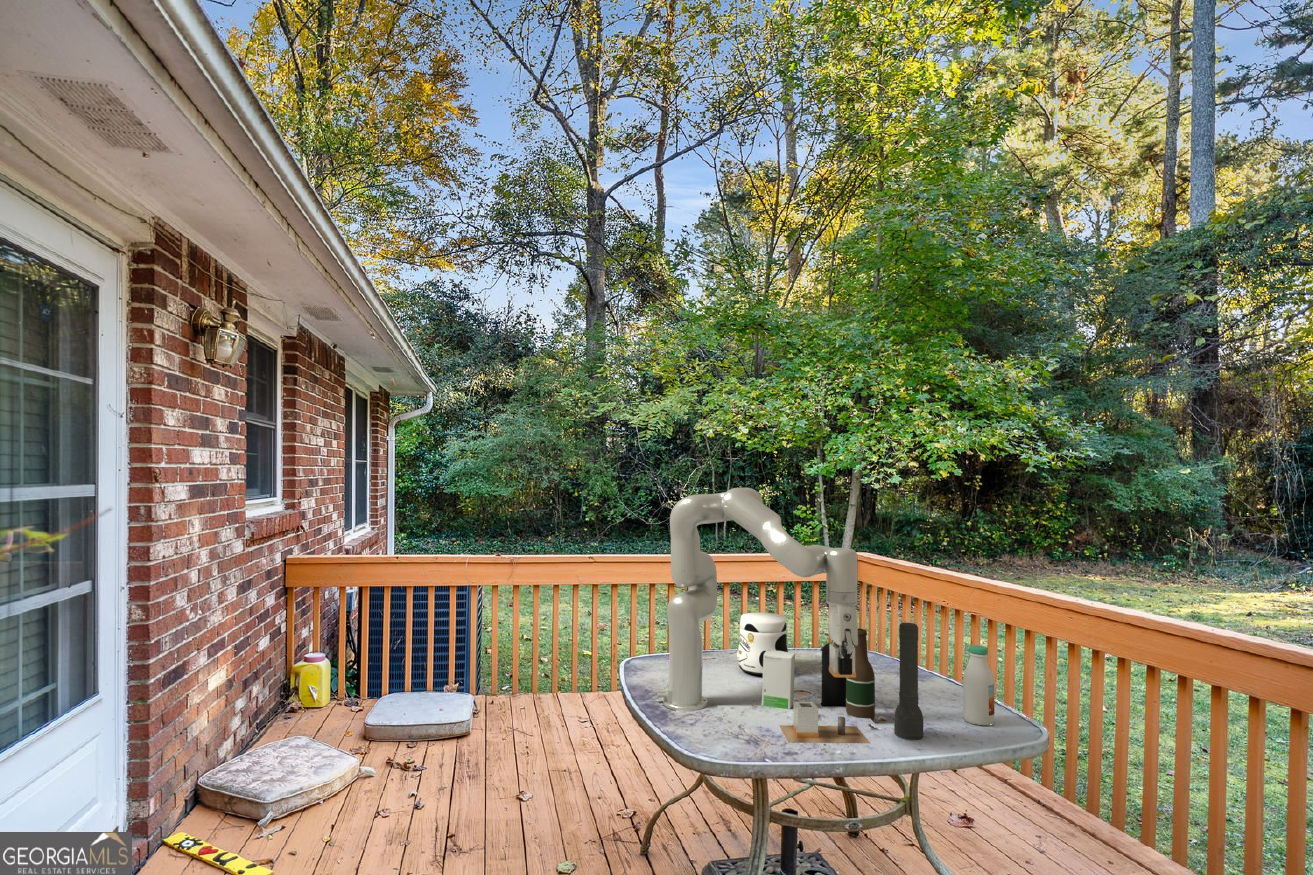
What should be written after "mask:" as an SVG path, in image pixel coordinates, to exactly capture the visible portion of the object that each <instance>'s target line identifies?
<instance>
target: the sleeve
mask: <svg viewBox="0 0 1313 875" xmlns="http://www.w3.org/2000/svg"><path fill="white" fill-rule="evenodd" d="M829 643H830V666H829V672H830V673H831V674H832V675H833V676H834V677H856V672H855V648H854V646H853V653H852V675H840V674H839V658H840V649H839V645H838V644H836V643H831V642H829ZM842 644H843V645H846V643H842ZM844 649H846V648H843V651H844Z"/></svg>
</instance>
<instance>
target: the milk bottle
mask: <svg viewBox="0 0 1313 875" xmlns="http://www.w3.org/2000/svg"><path fill="white" fill-rule="evenodd" d="M968 652H969V653H968V654H969V660H968V663H967V665H966V666H965V669H964V672H963V678H962V679H963V680H962V681H963V682H962V717H963V720H964V721H966V722H967V723H969V724H971V725H974V724H977V725H976V726H980V725H990V724H993V725H994V724H995V715H996V714H995V711H996V710H995V679H994V673H993V672H992V670H991V668H990V664H989V663H988V657H989V655H988V652H989V651H988V647H987V646H984V645H976V644H972V645H969V648H968Z"/></svg>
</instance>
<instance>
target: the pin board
mask: <svg viewBox="0 0 1313 875" xmlns="http://www.w3.org/2000/svg"><path fill="white" fill-rule="evenodd" d="M779 728H780V730H781V732H782V734H783V736H784V738H785V739H786V741H787V743H789V744H790V743H792V744H793V743H794V744H795V743H796V744H797V743H799V744H800V743H801V744H802V743H804V744H806V743H807V744H813V743H814V744H871V742H870V740H869V739H868V738H867V737H866V736H865V735H864V733H863V732H862V731H861V730H860V728H859V727H858V726H857V725H846V717H844V716H838V717H837V725H818V733H819V738H797V736H796V735H795V733H794V731H793V724H792V725H788V724H787V725H785V724H784V725H782V724H781V725H779Z"/></svg>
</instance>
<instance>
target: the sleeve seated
mask: <svg viewBox="0 0 1313 875" xmlns="http://www.w3.org/2000/svg"><path fill="white" fill-rule="evenodd" d="M792 716H793V724H792V725H793V731H794V733H795V735H796V736H797V738H819V733H818V726H819V707H818V706H817V705H816V704H815V702H814V701H793V715H792Z"/></svg>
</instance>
